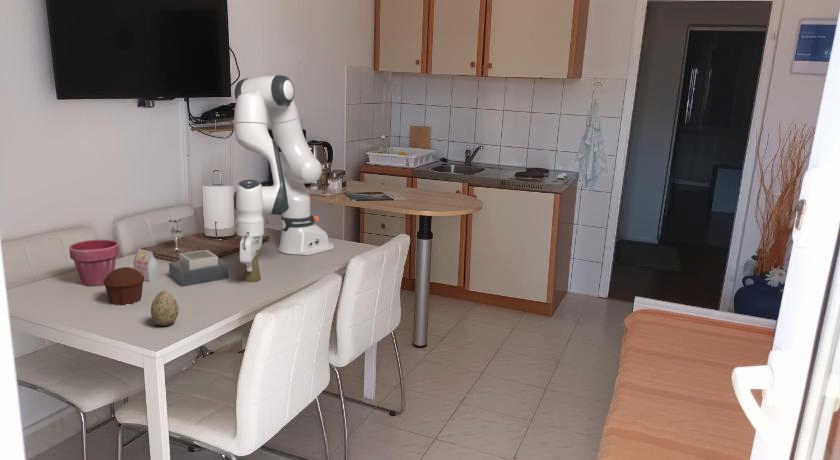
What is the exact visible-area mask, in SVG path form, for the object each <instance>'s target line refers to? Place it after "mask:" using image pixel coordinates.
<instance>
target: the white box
mask: <svg viewBox="0 0 840 460" xmlns="http://www.w3.org/2000/svg"><path fill="white" fill-rule="evenodd" d="M133 269H135V270H137V271H139V272H140V273H141V274H142V275H143V276H144V282H148V283H150V282H153V281H157V280H158V279H159V272H158V271H159V269H158V262H157V260H156V258H155V256H154V253H153V251H149V250H145V249H141V248H137V249H136V253H135V256H134V259H133Z"/></svg>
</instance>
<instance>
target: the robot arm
mask: <svg viewBox="0 0 840 460" xmlns="http://www.w3.org/2000/svg"><path fill="white" fill-rule="evenodd" d="M295 93H296V91H295V85H294V83H293V82H292V80H291V79H290V78H289V77H288V76H285V75H282V74H281V75H280V74H277V75H261V76H256V77H250V78H247V77H245V78H243V79H241V80H239V81H238V82H237V83H236V84H235V87H234V93H233V94H234V99H235V105H234V106H235V107H234V113H233V115H234V118H233V129H234V137H235V140H236V142H237V143H238V145H239V146H241V147H242V148H244V149H245V150H246V151H247V150H248V151H249V152H252V153H255V154H257V155H260V156H262V157H264V158H265V159H266V160H268V162H269V165H270V171H271V175H272V181H273V184H272V185H270V186H269V185H268V186H265V185H264V186H262V184H261V182H260V181H258V180H255V179H244V180H241V181H239V182H238V183H237V186H236V191H235V192H234V193H233V209H234V210H235V211H236V213H237V215H236V235H238V236H240V239H241V240H240V243H239V261H240V263H241V264H244V263H246V267H247V271H252V270H253V265H252V260H253V259H254V257H255V255H256V249H258V251H259V250H260V249H261V248H262V243H263V235H264V234H265V222H264V221H265V218H264V216H263V215H274V216H275V215H276V216H280V229H281V233H280V234H281V235H280V242H279V245H278V249H277V250H278V251H279V252H280V253H283V254H287V255H288V254H289V255H300V256H301V255H302V256H310V255H314V254H319V253H323V252H326V251H330V250H334V249H335V244H334V243H332V242H330V241H329V236H328V233H327V232H326V231H325V230H324V229H323V228H321V227H320V226H318V225H317V224H316V223H317V222H319V220H320V217H319V216H316V215H315V216H314V215H312V214H311V196H310V193H309V192H308V190H307V188H306V186H305V184H313V183H316V182H318V180H319V179H320V178H321V176H322V174H323V165H322V163H321V162H320V161H319V160H318V159H317V157H316V156H314V154H313V152H312V150H311V148H310V146H309V144H308V142H307V140H306V138H305V135H304V131H303V127H302V124H301V119H300V115H299V112H298V108H297V105H296V102H295V99H294V98H295ZM268 121H269V124H270V128H271V133H272V136H273V138H272V137H271V136H270V133H269V131H268ZM279 149H280V150H279ZM315 222H316V223H315Z"/></svg>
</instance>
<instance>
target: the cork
mask: <svg viewBox="0 0 840 460" xmlns="http://www.w3.org/2000/svg"><path fill="white" fill-rule="evenodd" d="M259 256H260V252H259V251H258V249H256V255H255V257H254V259H253V260H252V265H253V270H252V271H247V267H246V263H243V265H244V266H243V273H242V281H243V282H245V283H257V282H259V281H261V279H262V277H261V271H260V266H259V259H258V258H259Z"/></svg>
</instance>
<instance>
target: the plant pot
mask: <svg viewBox="0 0 840 460" xmlns="http://www.w3.org/2000/svg"><path fill="white" fill-rule="evenodd" d="M68 248H69V250H68V251H69V257H70V259H71V260H72V261H74V266H75V269H76V271H77V274H78V277H79V279H80V282H81V284H82V285H84V286H87V287H97V286H98V287H99V286H105V285H104V284H103V282H104V280H105V278H106V277H107V275H108V274H109V273H111V272H112V271H114V270H115V268H116V263H117V262H116V261H117V257H118V256H119V254H120V248H119V243H118V241H117V240H113V239H88V240H82V241H78V242H75V243H72V244H71V245H69V247H68Z"/></svg>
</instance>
